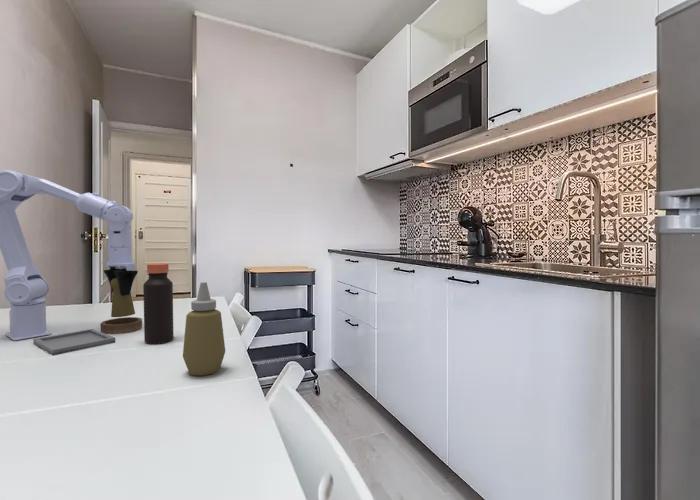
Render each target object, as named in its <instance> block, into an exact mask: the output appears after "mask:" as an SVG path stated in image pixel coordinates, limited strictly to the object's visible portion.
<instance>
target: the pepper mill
mask: <svg viewBox="0 0 700 500" xmlns="http://www.w3.org/2000/svg"><path fill="white" fill-rule="evenodd" d="M111 287H112V288H113V293H112V299H111V301H112V303H111V313H110V317H112V318H125V317H131V316H133V315H135V314H136V311H135V306H134V301H133V298H132V292H130V295H123V296H122V295H121V294H120V290H119V283H118V280H117V278H114V279H112V280H111V286H110V288H111Z"/></svg>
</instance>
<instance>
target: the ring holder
mask: <svg viewBox="0 0 700 500" xmlns="http://www.w3.org/2000/svg"><path fill="white" fill-rule="evenodd" d="M99 325H100V332H102V333H105V334H107V335H121V334H127V333H133V332H134V333H135V332H138V331H139V330H141V329H142V328H143V318H142V317H135V316H134V317H133V316H124V317H115V318H110V319H107V320H103V321H102V322H100V323H99Z"/></svg>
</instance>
